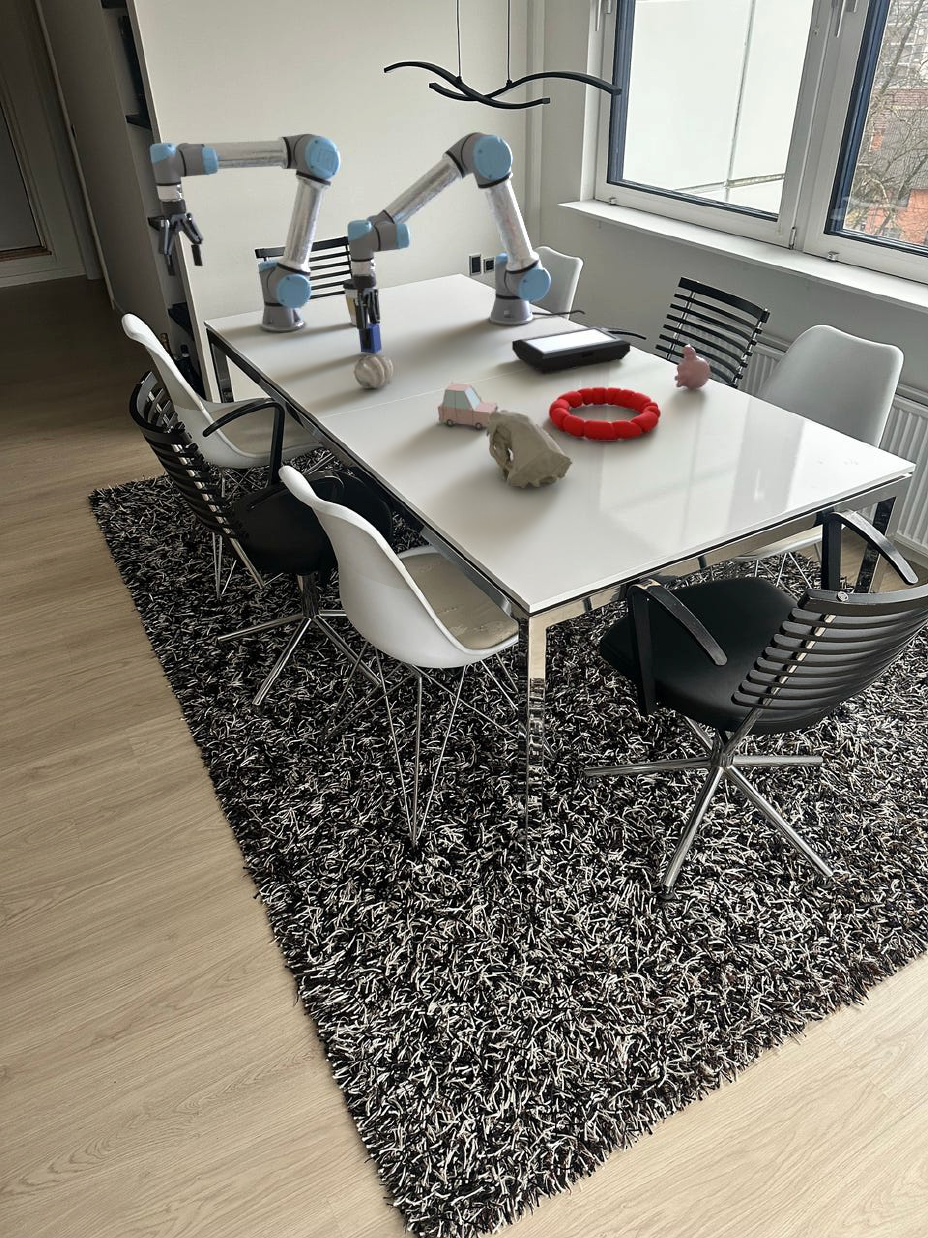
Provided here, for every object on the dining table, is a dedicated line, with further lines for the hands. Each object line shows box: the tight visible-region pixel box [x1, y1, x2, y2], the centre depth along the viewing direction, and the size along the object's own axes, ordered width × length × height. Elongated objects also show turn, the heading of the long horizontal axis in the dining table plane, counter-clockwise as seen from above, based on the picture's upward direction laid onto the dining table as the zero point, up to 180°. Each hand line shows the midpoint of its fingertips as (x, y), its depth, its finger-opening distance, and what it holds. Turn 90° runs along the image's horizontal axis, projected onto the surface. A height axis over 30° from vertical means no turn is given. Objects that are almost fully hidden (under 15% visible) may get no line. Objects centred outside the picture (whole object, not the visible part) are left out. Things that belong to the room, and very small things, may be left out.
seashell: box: [353, 354, 394, 389], centre depth 268 cm, size 10×15×10 cm
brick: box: [358, 322, 382, 355], centre depth 295 cm, size 5×5×8 cm
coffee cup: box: [342, 277, 369, 327], centre depth 323 cm, size 10×10×15 cm
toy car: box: [437, 382, 499, 431], centre depth 243 cm, size 9×15×10 cm, turn 70°
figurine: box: [674, 344, 711, 390], centre depth 259 cm, size 9×11×12 cm
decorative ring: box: [548, 386, 661, 442], centre depth 242 cm, size 7×30×30 cm
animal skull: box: [485, 409, 573, 489], centre depth 216 cm, size 17×25×20 cm
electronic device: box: [511, 326, 631, 374], centre depth 286 cm, size 32×6×20 cm
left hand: (186, 270), depth 289 cm, fingers open, 13 cm apart
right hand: (371, 346), depth 296 cm, fingers closed on brick, 5 cm apart
